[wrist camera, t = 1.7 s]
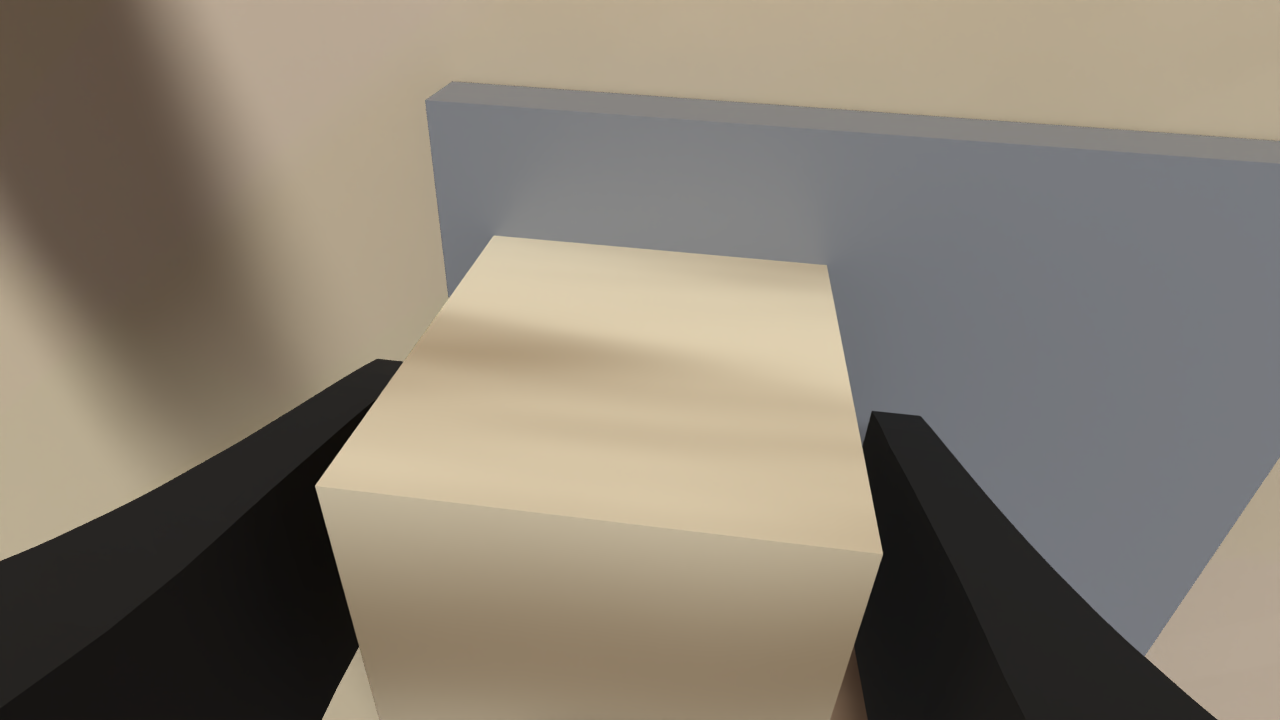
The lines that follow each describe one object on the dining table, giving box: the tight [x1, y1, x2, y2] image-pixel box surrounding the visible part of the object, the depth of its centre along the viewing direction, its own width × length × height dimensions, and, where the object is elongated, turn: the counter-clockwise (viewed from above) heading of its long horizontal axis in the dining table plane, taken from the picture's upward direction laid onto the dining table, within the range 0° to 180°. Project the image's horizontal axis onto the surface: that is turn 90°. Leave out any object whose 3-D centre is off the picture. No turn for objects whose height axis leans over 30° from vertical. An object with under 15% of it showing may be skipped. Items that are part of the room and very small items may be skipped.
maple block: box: [315, 236, 883, 720], centre depth 9 cm, size 4×4×5 cm
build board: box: [425, 82, 1280, 656], centre depth 14 cm, size 18×12×1 cm, turn 178°
